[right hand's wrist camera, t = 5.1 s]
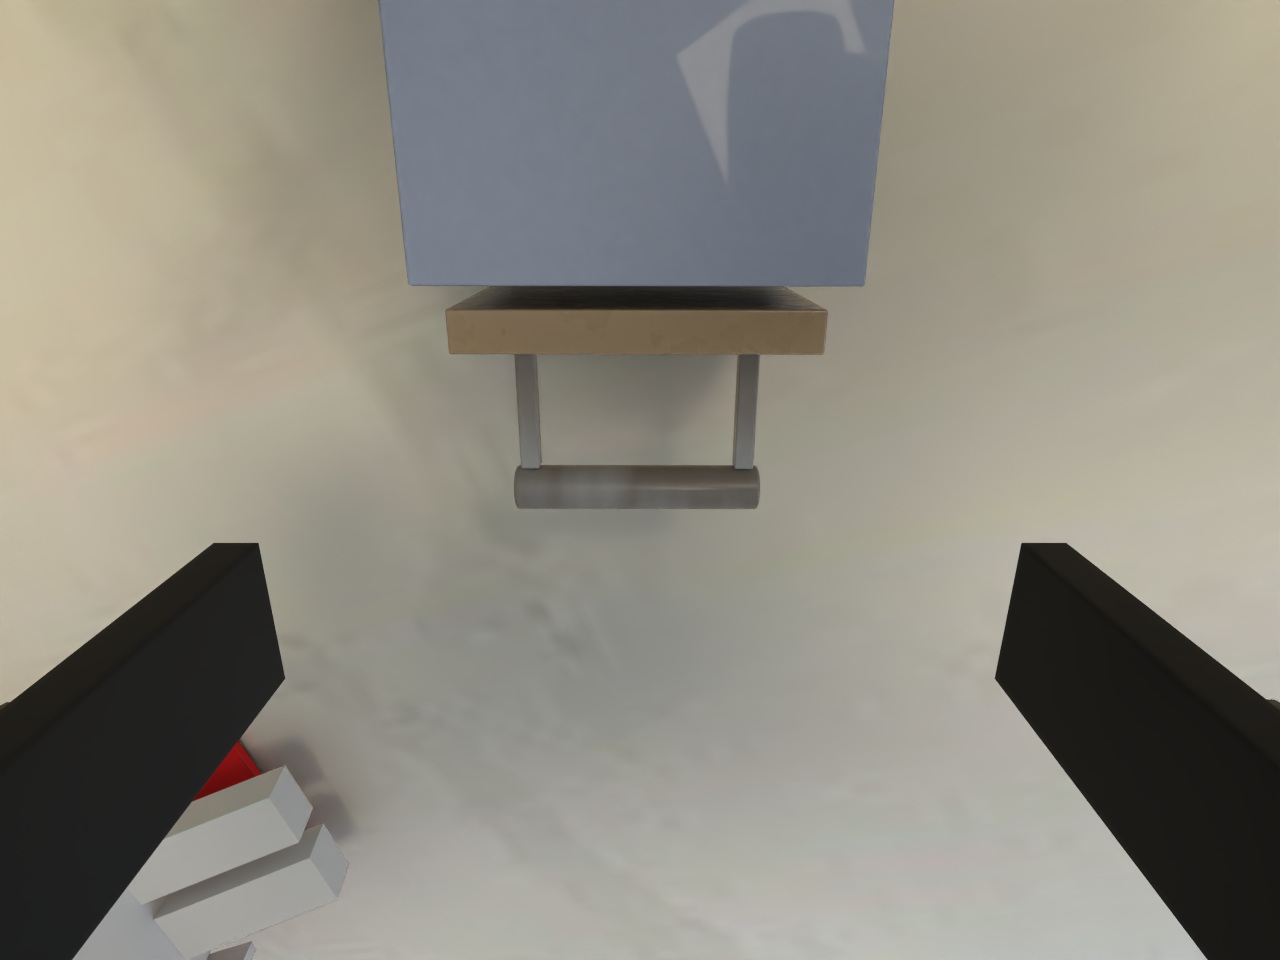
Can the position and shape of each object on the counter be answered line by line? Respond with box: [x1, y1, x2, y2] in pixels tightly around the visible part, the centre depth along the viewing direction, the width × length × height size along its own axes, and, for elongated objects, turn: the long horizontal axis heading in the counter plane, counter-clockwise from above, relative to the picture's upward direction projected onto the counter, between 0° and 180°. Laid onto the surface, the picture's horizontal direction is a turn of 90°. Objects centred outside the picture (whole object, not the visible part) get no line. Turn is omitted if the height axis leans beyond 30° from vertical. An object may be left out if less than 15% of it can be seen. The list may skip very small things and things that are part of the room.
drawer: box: [445, 286, 828, 509], centre depth 22 cm, size 24×10×10 cm, turn 0°
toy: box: [73, 741, 349, 960], centre depth 35 cm, size 12×13×30 cm
